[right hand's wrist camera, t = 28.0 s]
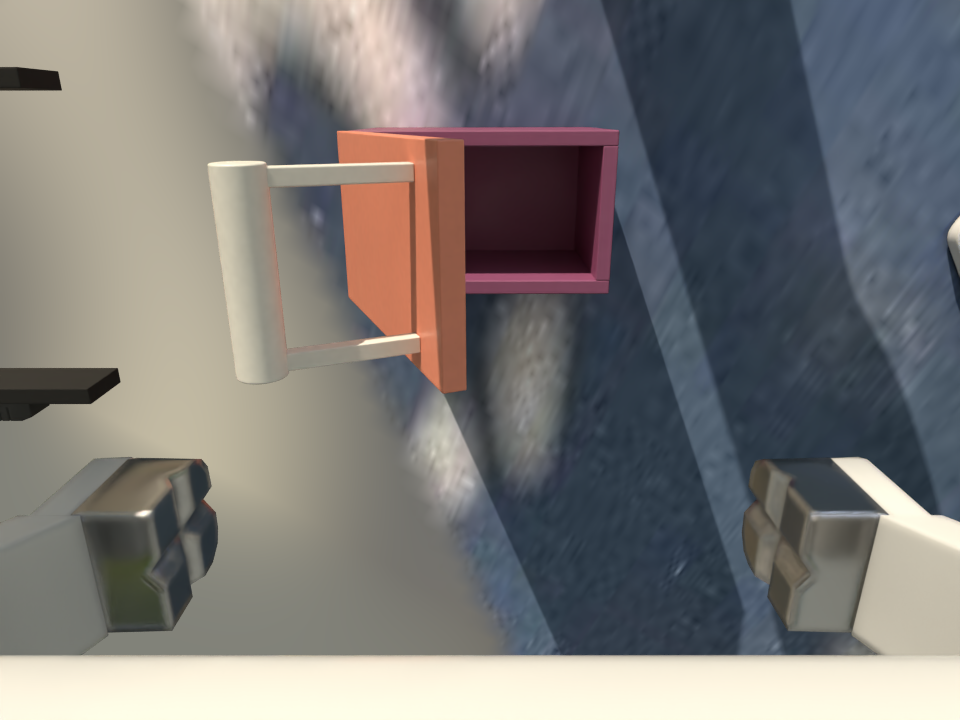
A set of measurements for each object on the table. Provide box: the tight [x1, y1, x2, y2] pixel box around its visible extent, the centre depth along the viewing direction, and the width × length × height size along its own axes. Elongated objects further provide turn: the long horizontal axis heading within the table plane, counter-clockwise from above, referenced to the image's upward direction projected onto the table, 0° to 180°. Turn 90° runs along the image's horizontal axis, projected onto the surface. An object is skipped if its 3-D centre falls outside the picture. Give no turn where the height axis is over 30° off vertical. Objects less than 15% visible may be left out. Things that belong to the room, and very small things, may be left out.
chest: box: [352, 127, 619, 294], centre depth 43 cm, size 15×9×10 cm, turn 90°
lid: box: [208, 131, 466, 394], centre depth 30 cm, size 16×9×8 cm
